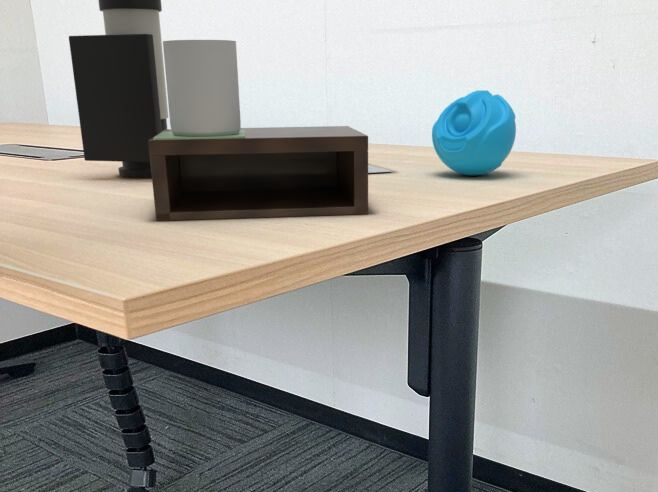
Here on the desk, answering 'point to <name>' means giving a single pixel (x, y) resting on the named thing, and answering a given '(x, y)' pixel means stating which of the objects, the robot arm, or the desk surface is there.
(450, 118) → the blue rounded piece
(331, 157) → the shelf
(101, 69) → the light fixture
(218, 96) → the cup
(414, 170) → the desk surface
